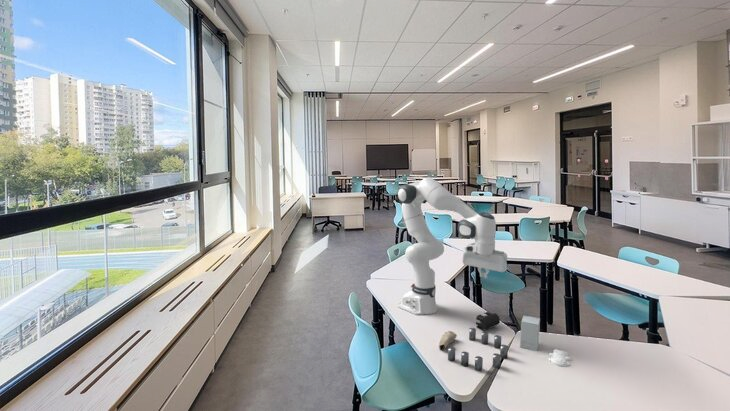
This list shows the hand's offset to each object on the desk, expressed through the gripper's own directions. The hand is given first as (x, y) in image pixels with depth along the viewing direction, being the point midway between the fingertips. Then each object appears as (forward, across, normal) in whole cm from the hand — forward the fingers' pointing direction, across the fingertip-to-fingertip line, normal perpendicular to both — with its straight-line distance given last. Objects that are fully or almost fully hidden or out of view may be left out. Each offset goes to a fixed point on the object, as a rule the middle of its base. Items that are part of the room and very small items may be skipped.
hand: (483, 277), depth 178 cm
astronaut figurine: (+30, -34, -2) cm, 46 cm away
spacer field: (+30, -7, +15) cm, 34 cm away
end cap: (+30, +1, -11) cm, 32 cm away
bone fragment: (+30, +9, +16) cm, 36 cm away
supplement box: (+30, -21, -6) cm, 37 cm away
